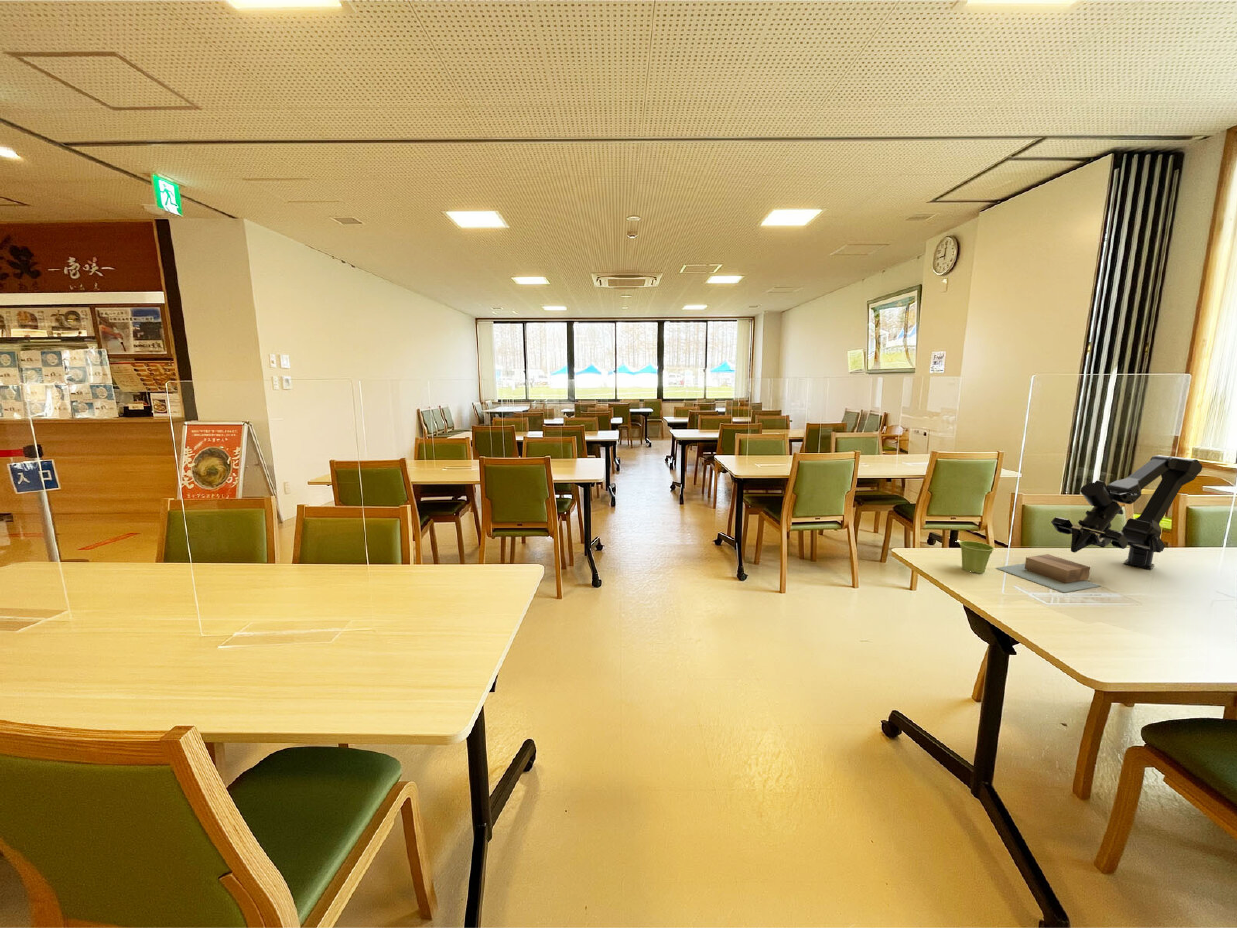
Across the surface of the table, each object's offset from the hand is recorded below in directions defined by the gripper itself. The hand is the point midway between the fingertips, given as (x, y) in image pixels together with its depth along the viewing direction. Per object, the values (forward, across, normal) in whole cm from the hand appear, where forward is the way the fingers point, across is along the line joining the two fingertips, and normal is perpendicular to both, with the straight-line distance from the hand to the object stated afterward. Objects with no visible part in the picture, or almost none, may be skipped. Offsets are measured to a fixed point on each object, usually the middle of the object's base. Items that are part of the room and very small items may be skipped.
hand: (1072, 551), depth 159 cm
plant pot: (+24, +11, +14) cm, 30 cm away
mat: (+13, 0, +2) cm, 13 cm away
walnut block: (+4, 0, -2) cm, 5 cm away
